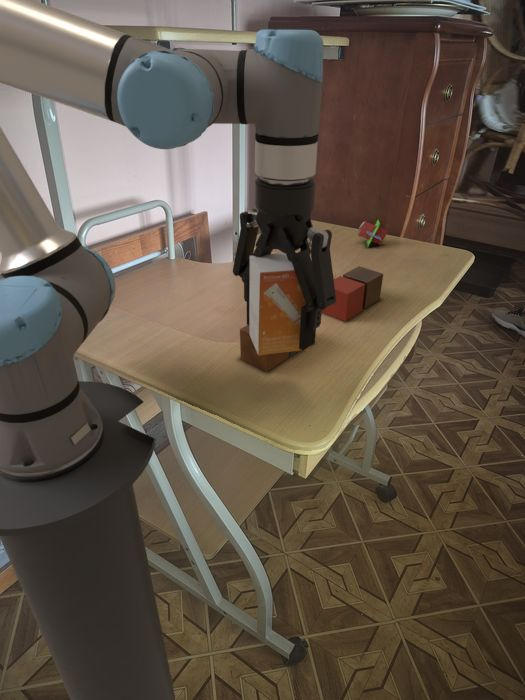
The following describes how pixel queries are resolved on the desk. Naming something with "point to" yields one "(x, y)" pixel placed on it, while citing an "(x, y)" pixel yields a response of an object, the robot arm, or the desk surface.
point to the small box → (274, 304)
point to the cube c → (346, 299)
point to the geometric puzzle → (372, 232)
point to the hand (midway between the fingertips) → (279, 333)
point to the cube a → (252, 356)
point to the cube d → (367, 283)
